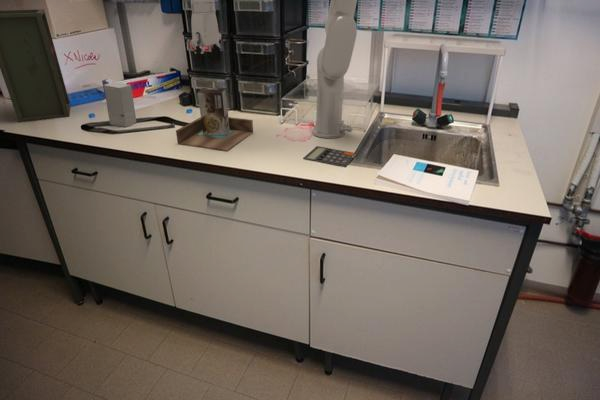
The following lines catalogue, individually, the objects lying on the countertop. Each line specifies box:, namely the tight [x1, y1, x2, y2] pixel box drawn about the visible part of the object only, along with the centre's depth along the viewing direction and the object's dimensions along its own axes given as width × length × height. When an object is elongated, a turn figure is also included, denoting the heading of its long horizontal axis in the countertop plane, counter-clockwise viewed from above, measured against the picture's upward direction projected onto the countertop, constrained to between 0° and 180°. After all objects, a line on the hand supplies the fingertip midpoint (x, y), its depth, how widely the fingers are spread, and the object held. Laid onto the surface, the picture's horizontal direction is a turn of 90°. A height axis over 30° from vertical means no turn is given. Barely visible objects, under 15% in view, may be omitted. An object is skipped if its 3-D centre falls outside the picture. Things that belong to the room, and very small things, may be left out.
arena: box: [175, 116, 254, 152], centre depth 150 cm, size 20×20×5 cm
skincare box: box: [103, 81, 137, 128], centre depth 162 cm, size 8×7×16 cm
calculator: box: [302, 145, 358, 168], centre depth 137 cm, size 12×1×15 cm
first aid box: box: [0, 8, 71, 123], centre depth 167 cm, size 18×18×40 cm
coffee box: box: [197, 87, 230, 135], centre depth 150 cm, size 9×6×16 cm
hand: (209, 63), depth 142 cm, fingers open, 9 cm apart
